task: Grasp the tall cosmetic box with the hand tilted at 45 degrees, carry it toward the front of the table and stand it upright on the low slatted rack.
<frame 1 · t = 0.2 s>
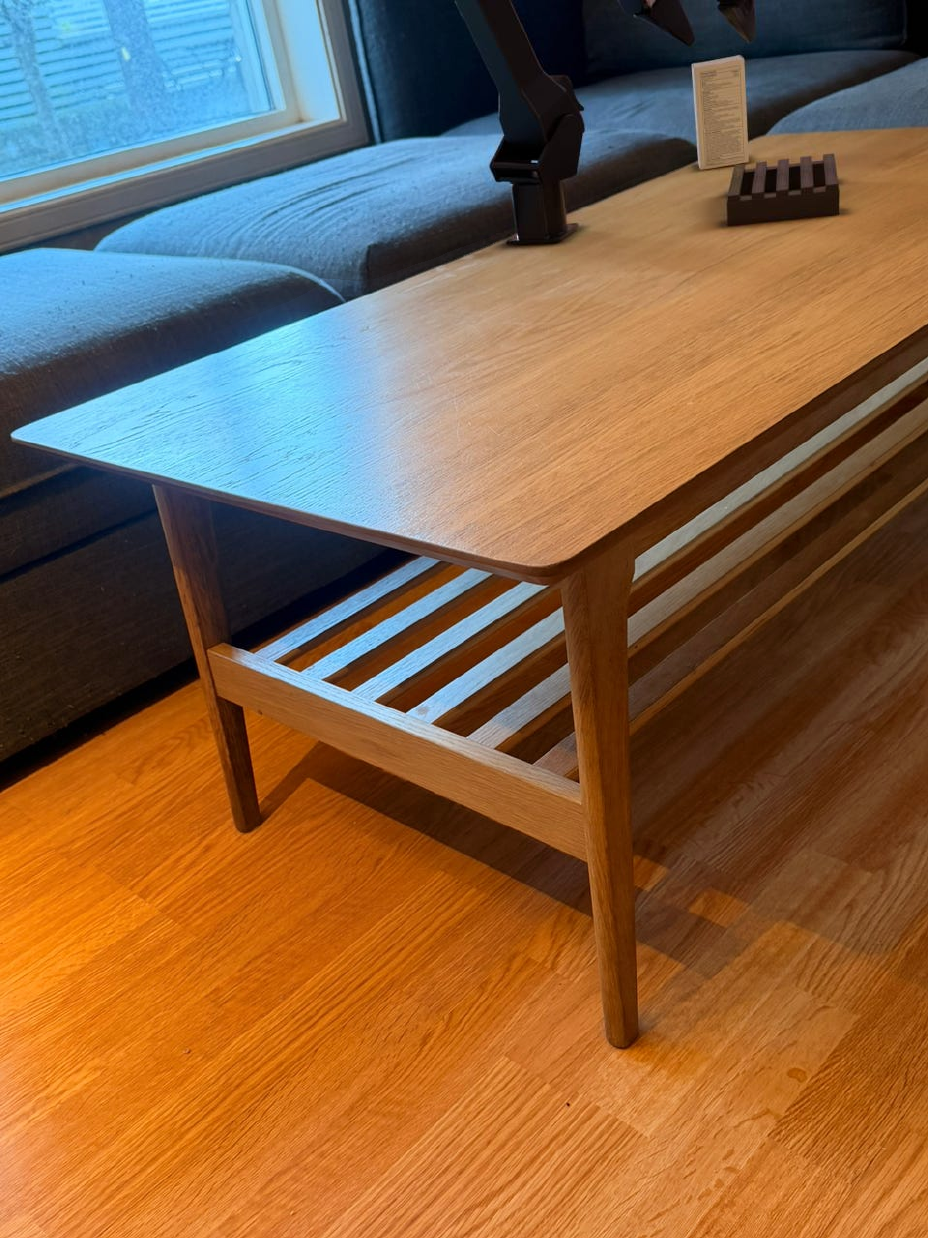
hand: (721, 41, 132), 15 cm above the table, tool tilted 35°, fingers open, 9 cm apart
rack: (783, 202, 121), on the table
cosmetic box: (722, 165, 145), on the table
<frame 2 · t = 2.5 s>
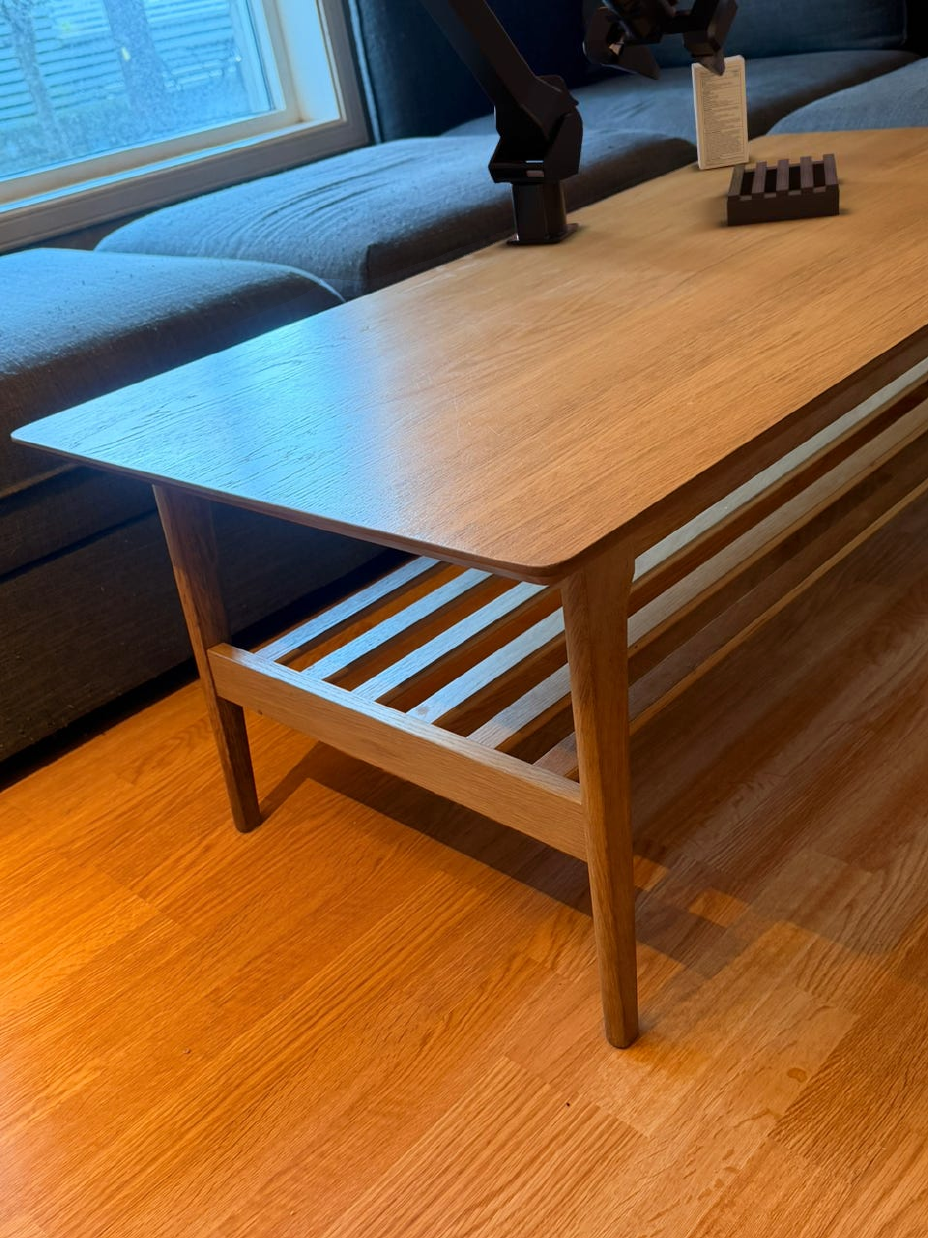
hand: (690, 74, 136), 12 cm above the table, tool tilted 45°, fingers open, 9 cm apart
nothing on the table moved.
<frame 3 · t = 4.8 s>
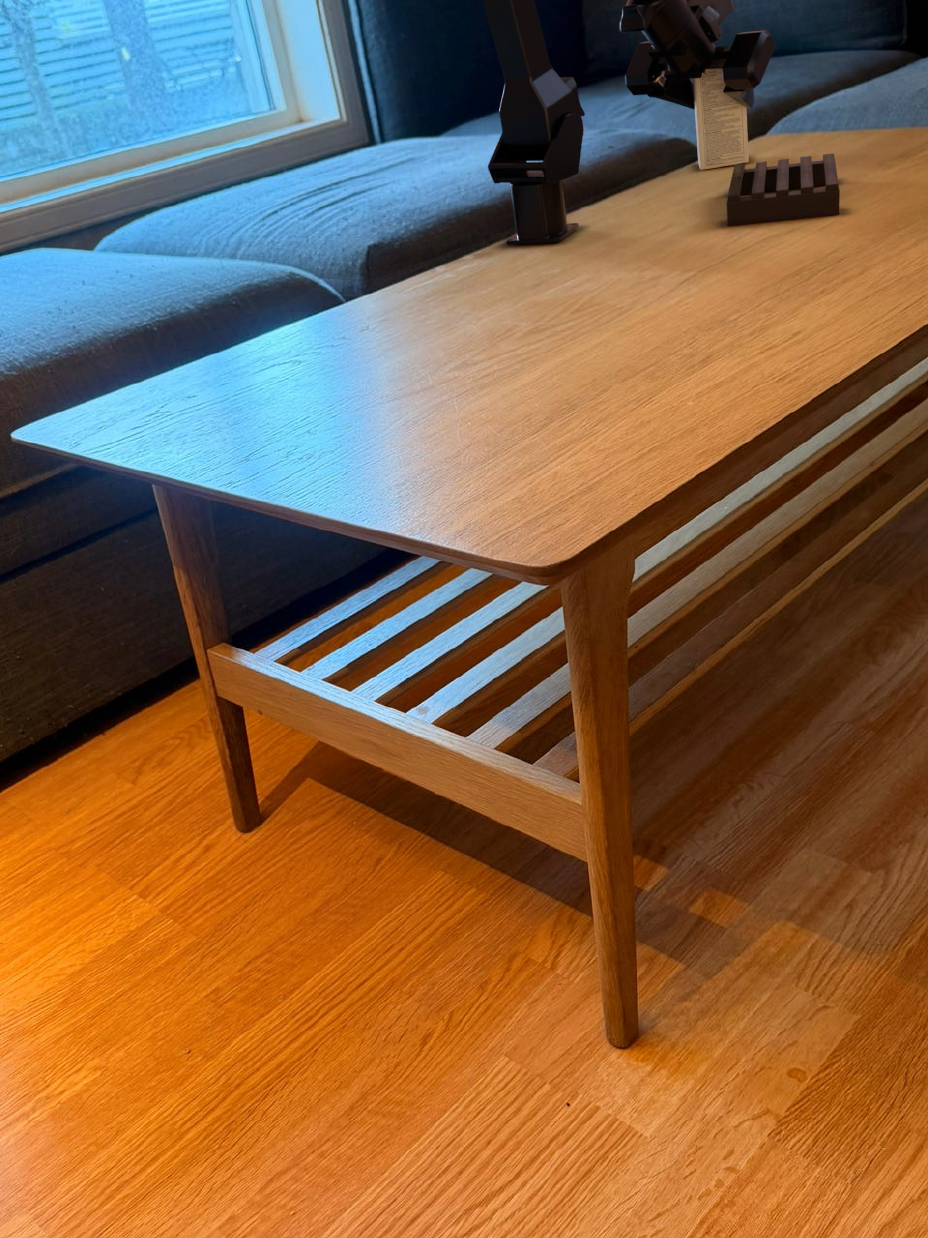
hand: (726, 106, 142), 7 cm above the table, tool tilted 45°, fingers closed on cosmetic box, 7 cm apart
cosmetic box: (722, 165, 145), on the table, touching gripper
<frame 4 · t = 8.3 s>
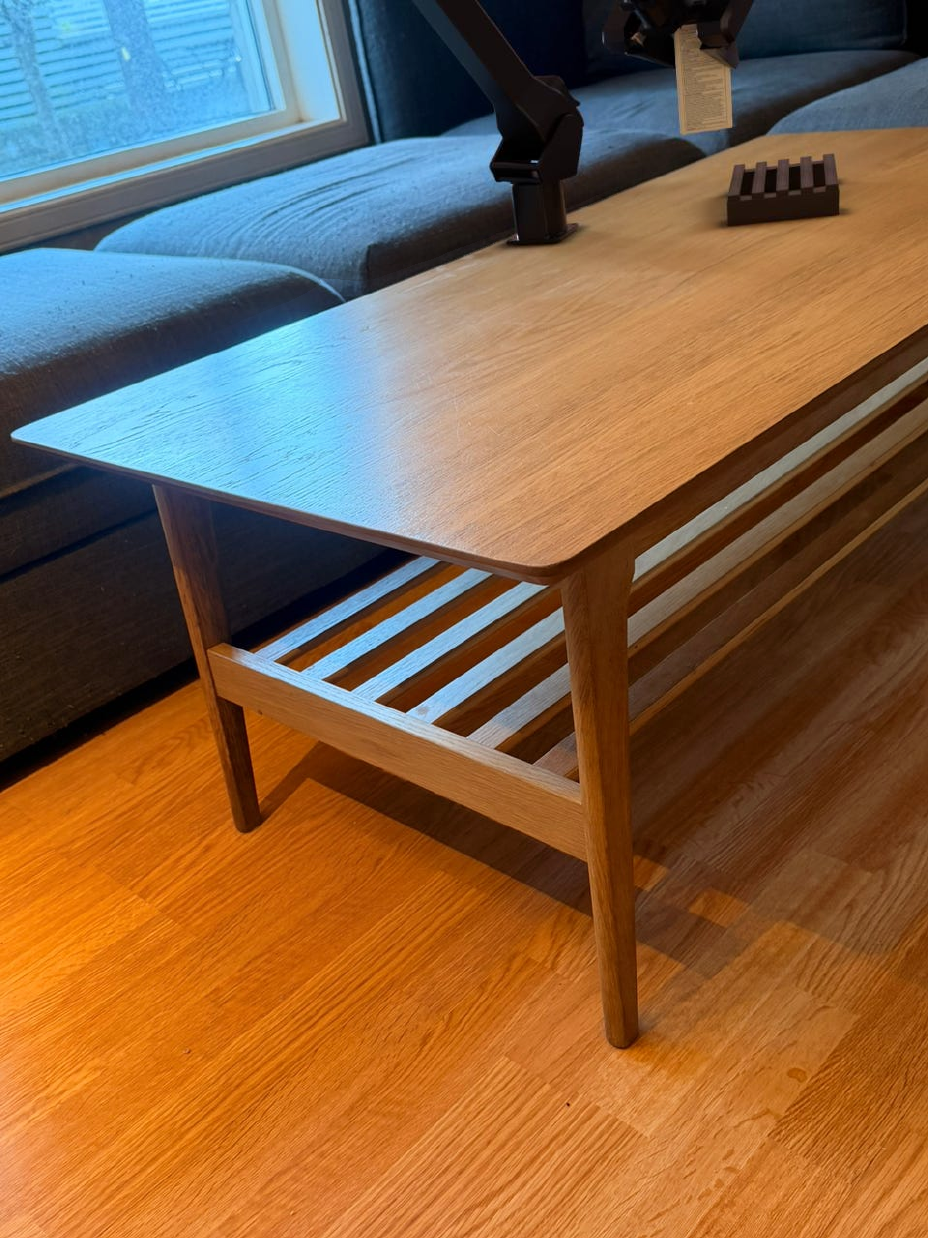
hand: (711, 67, 133), 12 cm above the table, tool tilted 45°, fingers closed on cosmetic box, 7 cm apart
cosmetic box: (705, 131, 136), point 5 cm above the table, touching gripper
when the fingers open (10 cm above the table, at t = 12.0 s): cosmetic box stays where it is, resting on rack.
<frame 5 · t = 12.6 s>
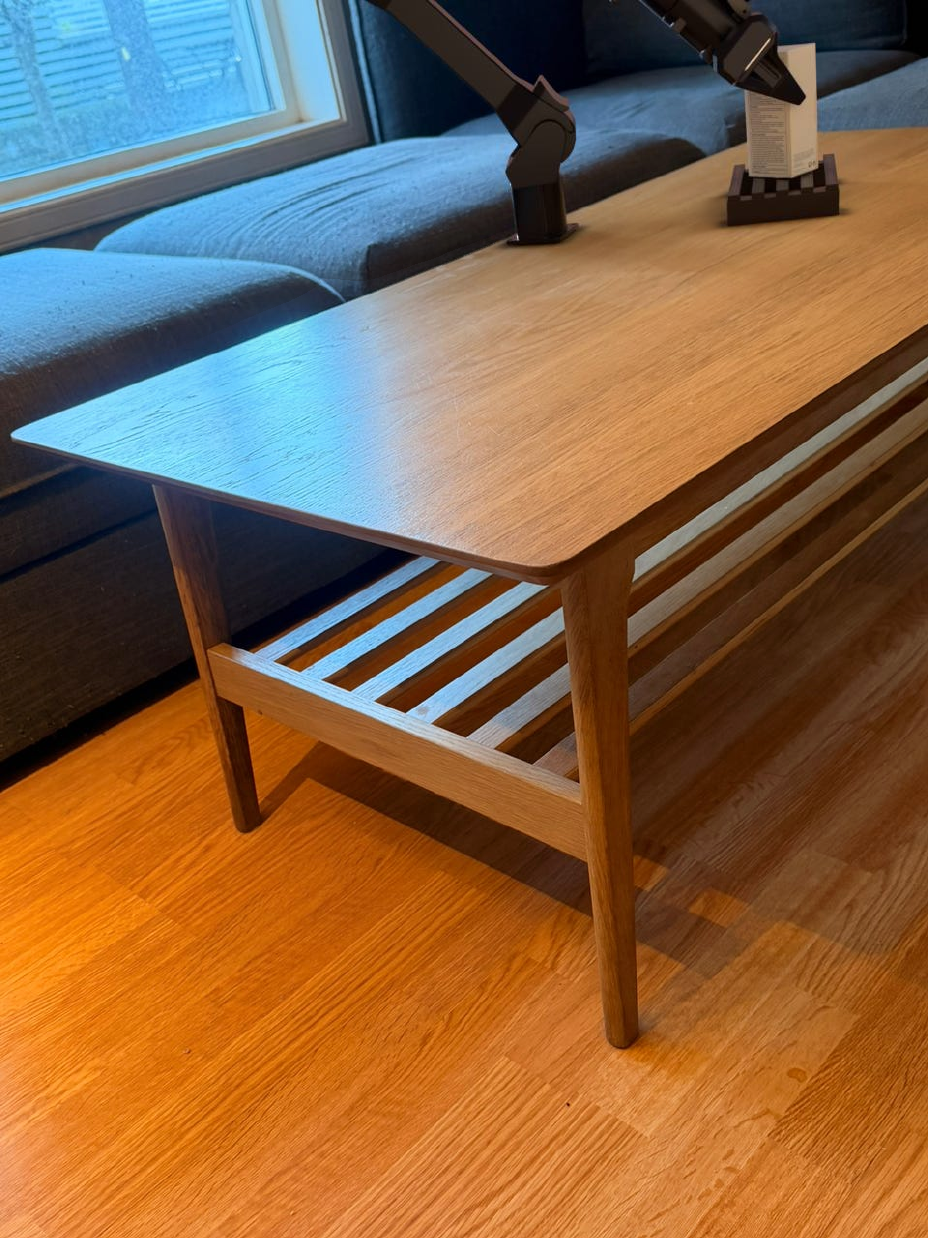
hand: (795, 95, 116), 10 cm above the table, tool tilted 45°, fingers open, 9 cm apart
cosmetic box: (781, 175, 120), point 3 cm above the table, touching rack
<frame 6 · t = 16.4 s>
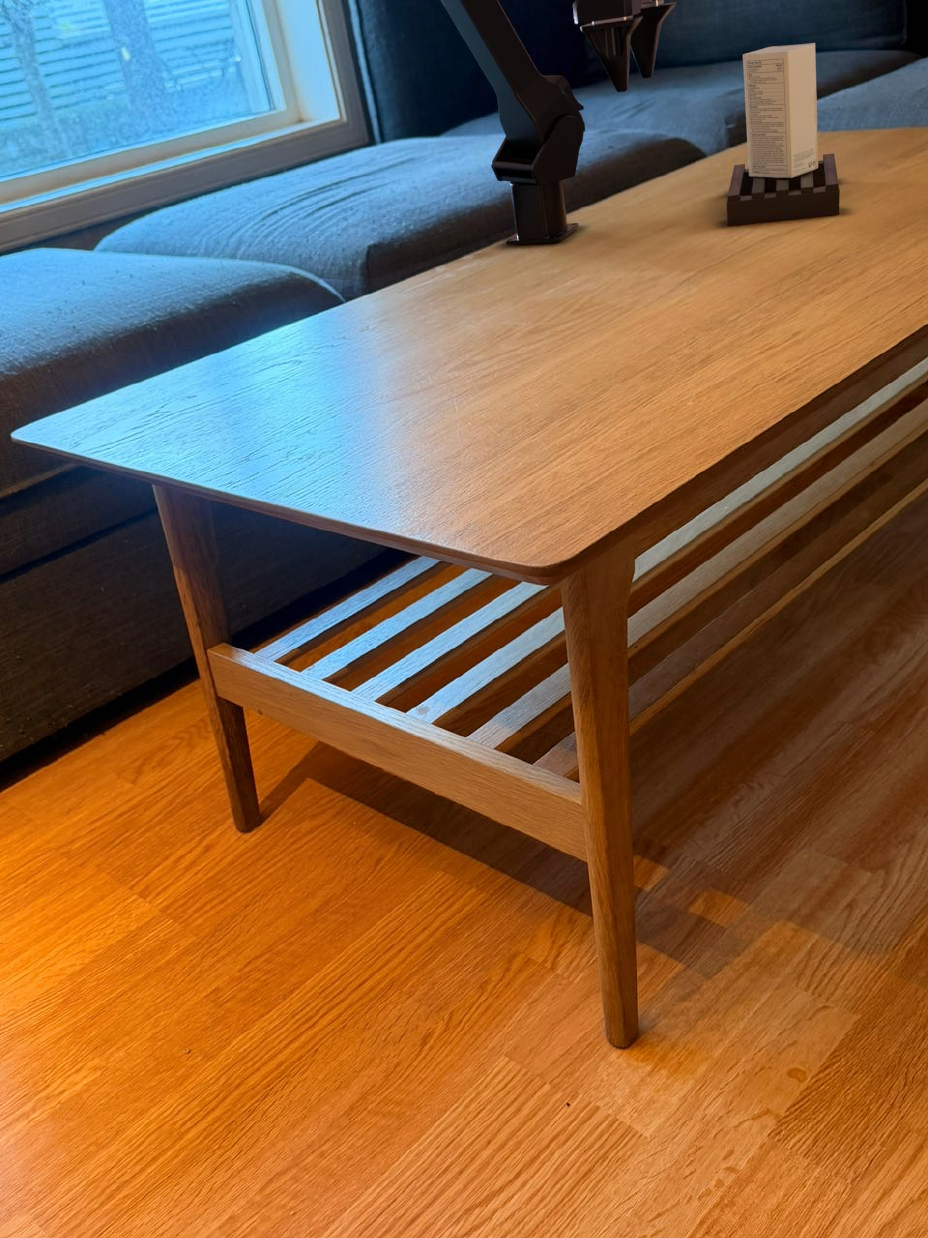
hand: (635, 84, 124), 13 cm above the table, tool pointing down, fingers open, 9 cm apart
nothing on the table moved.
at the end: cosmetic box inside the target area on the rack (0.1 cm from its centre), point 2.8 cm above the rack's base; cosmetic box tilted 0°; the gripper is holding nothing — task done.
